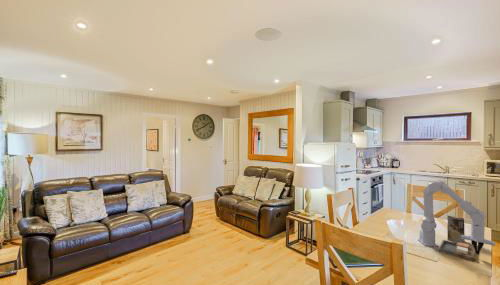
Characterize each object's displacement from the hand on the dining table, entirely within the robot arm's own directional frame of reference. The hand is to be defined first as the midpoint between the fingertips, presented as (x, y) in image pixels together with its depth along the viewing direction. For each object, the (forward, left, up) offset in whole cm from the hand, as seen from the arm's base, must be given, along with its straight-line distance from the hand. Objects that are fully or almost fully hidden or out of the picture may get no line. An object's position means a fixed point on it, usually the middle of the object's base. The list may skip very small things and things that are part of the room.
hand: (477, 253), depth 143 cm
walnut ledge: (-6, -2, -3) cm, 8 cm away
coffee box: (-26, +4, -3) cm, 27 cm away
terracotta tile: (-10, -1, -1) cm, 10 cm away
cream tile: (-4, -5, -1) cm, 7 cm away
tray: (-11, -9, -3) cm, 15 cm away
